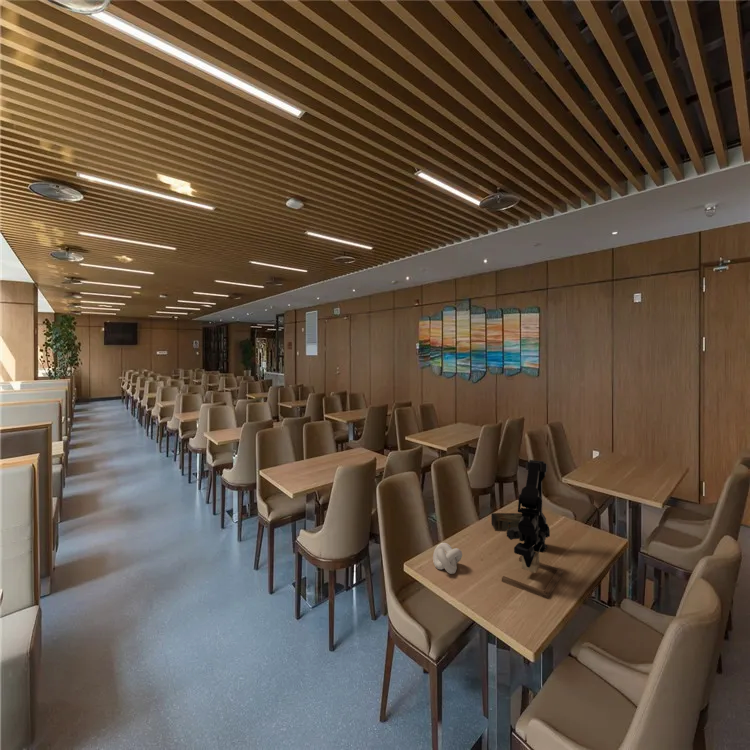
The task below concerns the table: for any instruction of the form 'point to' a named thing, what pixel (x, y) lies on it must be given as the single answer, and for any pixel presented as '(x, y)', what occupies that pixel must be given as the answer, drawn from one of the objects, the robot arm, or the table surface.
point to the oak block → (534, 564)
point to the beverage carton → (505, 520)
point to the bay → (534, 590)
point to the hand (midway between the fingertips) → (530, 564)
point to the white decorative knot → (446, 557)
